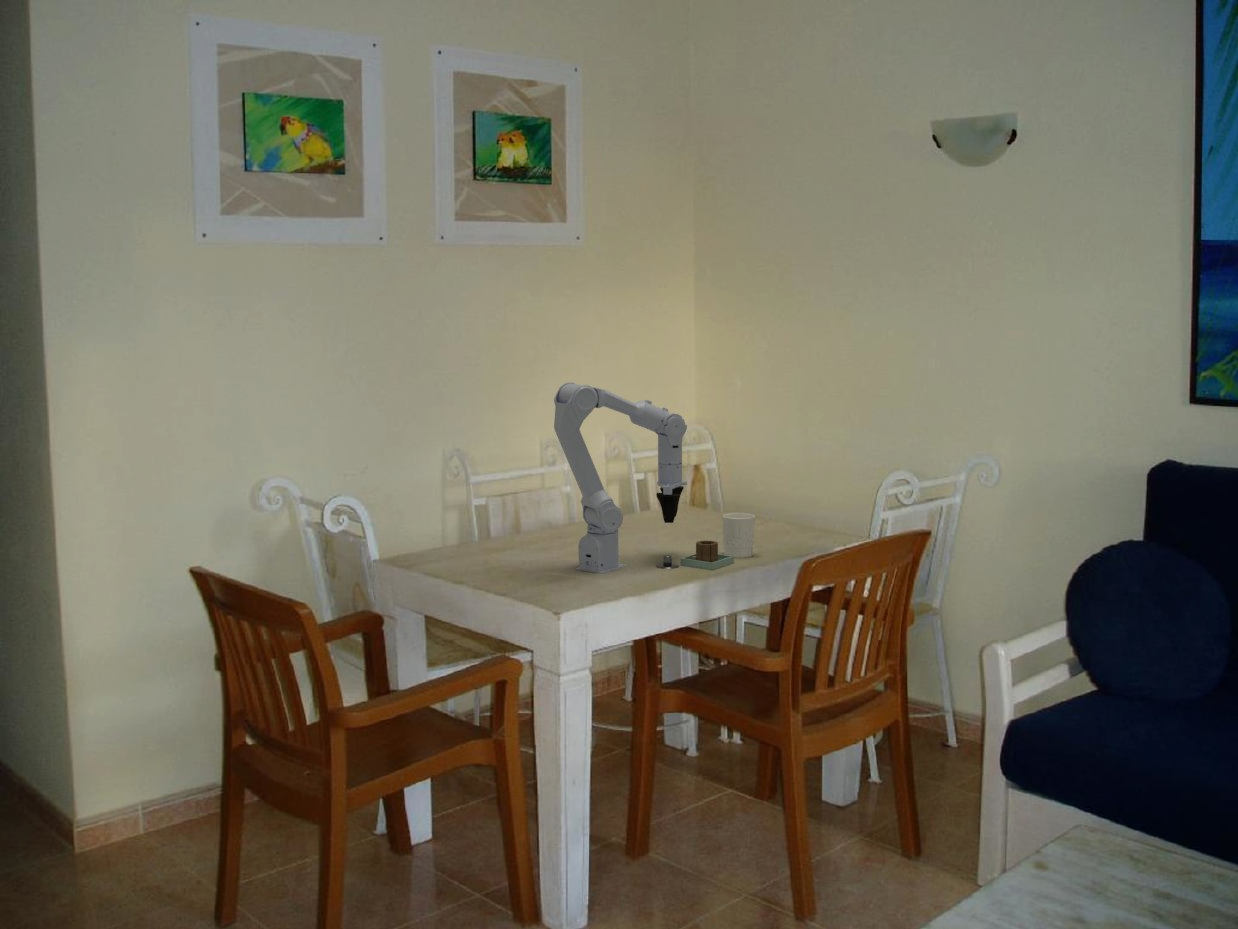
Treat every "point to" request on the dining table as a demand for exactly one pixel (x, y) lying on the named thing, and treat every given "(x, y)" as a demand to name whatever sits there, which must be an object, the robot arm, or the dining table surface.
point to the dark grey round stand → (667, 563)
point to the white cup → (738, 534)
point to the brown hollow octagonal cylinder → (706, 551)
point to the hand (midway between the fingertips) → (670, 519)
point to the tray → (722, 561)
